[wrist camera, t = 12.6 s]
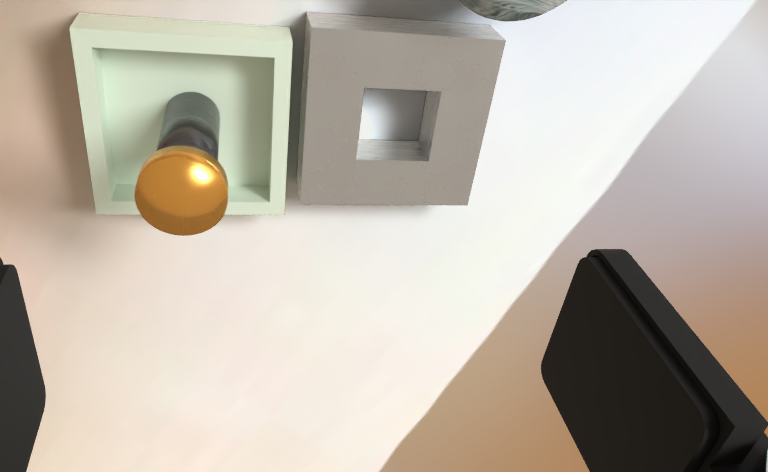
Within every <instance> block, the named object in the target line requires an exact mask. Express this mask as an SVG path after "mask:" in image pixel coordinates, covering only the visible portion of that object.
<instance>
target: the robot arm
mask: <svg viewBox="0 0 768 472" xmlns="http://www.w3.org/2000/svg"><path fill="white" fill-rule="evenodd" d="M541 373H542V377H543V380H544V382H545V384H546V386H547V388H548V390H549V392H550V394H551V396H552V398H553V400H554V402H555V404H556V406H557V408H558V410H559V412H560V414H561V416H562V418H563V420H564V422H565V424H566V426H567V428H568V430H569V432H570V433H571V435H572V437H573V439H574V441H575V443H576V445H577V447H578V449H579V451H580V453H581V455H582V457H583V459H584V461H585V463H586V464H587V467H588V469H589V471H590V472H768V437H767V436H766V434H765V433H764V431H765V429H766V427H767V426H768V422H767V421H766V420H765V418H764V417H763V416H762V415H761V414H760V412H759V411H758V410H757V409H756V408H755V406H754V405H753V404H752V403H751V401H750V400H749V399H748V398H747V397H746V395H745V394H744V393H743V392H742V390H741V389H740V388H739V387H738V385H737V384H736V383H735V382H734V381H733V379H732V378H731V377H730V376H729V375H728V373H727V372H726V371H725V370H724V368H723V367H722V366H721V365H720V364H719V362H718V361H717V360H716V359H715V358H714V356H713V355H712V354H711V353H710V351H709V350H708V349H707V348H706V347H705V345H704V344H703V343H702V342H701V340H700V339H699V338H698V337H697V336H696V334H695V333H694V332H693V331H692V329H691V328H690V327H689V326H688V325H687V323H686V322H685V321H684V320H683V318H682V317H681V316H680V315H679V314H678V312H676V310H675V309H674V307H673V306H672V305H671V304H670V303H669V301H668V300H667V299H666V298H665V296H664V295H663V294H662V293H661V292H660V290H659V289H658V288H657V287H656V286H655V284H654V283H653V282H652V281H651V279H650V278H649V277H648V276H647V275H646V273H645V272H644V271H643V270H642V268H641V267H640V266H639V265H638V264H637V262H636V261H635V260H634V259H633V258H632V256H631V255H630V254H629V253H628V252H627V251H626V250H623V249H596V250H591V251H590V252H589V253H588V255H587V257H585V258H582V259H581V260H580V261H579V263H578V265H577V268H576V271H575V274H574V276H573V279H572V282H571V284H570V287H569V289H568V292H567V295H566V298H565V300H564V303H563V306H562V308H561V311H560V314H559V316H558V319H557V322H556V325H555V327H554V330H553V333H552V335H551V338H550V341H549V343H548V346H547V349H546V351H545V354H544V357H543V360H542V364H541ZM45 397H46V393H45V385H44V381H43V377H42V373H41V368H40V364H39V360H38V356H37V352H36V348H35V344H34V339H33V335H32V331H31V327H30V323H29V319H28V315H27V310H26V306H25V302H24V298H23V294H22V290H21V286H20V281H19V277H18V273H17V270H16V268H15V266H14V265H3V262H2V260H1V258H0V472H26V470H27V467H28V463H29V460H30V456H31V453H32V449H33V446H34V443H35V439H36V436H37V432H38V429H39V426H40V422H41V419H42V415H43V412H44V407H45Z"/></svg>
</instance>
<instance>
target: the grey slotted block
mask: <svg viewBox="0 0 768 472" xmlns="http://www.w3.org/2000/svg"><path fill="white" fill-rule="evenodd" d="M505 41H506V40H505V39H504V38H503V37H502V36H501V35H500V34H499V33H498V32H497V31H496V30H495V29H493V28H492V27H491V26H490V25H480V24H466V23H453V22H439V21H426V20H412V19H398V18H385V17H371V16H358V15H344V14H331V13H317V12H306V27H305V44H304V61H303V78H302V96H301V113H300V130H299V147H298V164H297V181H296V182H297V188H298V194H299V201H300V204H339V205H468V200H469V196H470V192H471V187H472V183H473V179H474V175H475V170H476V166H477V162H478V157H479V153H480V149H481V144H482V140H483V136H484V132H485V127H486V123H487V119H488V114H489V110H490V106H491V101H492V97H493V93H494V89H495V84H496V80H497V76H498V71H499V67H500V63H501V58H502V54H503V50H504V46H505ZM364 88H381V89H402V90H423V91H427V94H426V100H425V106H424V112H423V118H422V123H421V129H420V135H419V141H398V140H364V139H359V130H360V122H361V113H362V104H363V95H364Z"/></svg>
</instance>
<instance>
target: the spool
mask: <svg viewBox="0 0 768 472" xmlns="http://www.w3.org/2000/svg"><path fill="white" fill-rule="evenodd" d="M460 1H461V2H462V3H463V4H464V5H465V6H466V7H468V8H469V9H471V10H472V11H474V12H475V13H477V14H478V15H481V16H483V17H486V18H490V19H494V20H499V21H518V20H525V19H529V18H533V17H536V16H539V15H542V14H544V13H546V12H548V11H550V10H552V9H553V8H555V7H557V6H559V5H561V4H562V3H564V2H565V1H566V0H460Z"/></svg>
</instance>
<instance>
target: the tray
mask: <svg viewBox="0 0 768 472" xmlns="http://www.w3.org/2000/svg"><path fill="white" fill-rule="evenodd" d="M69 30H70V37H71V44H72V51H73V58H74V65H75V71H76V78H77V85H78V92H79V99H80V106H81V113H82V120H83V127H84V134H85V141H86V148H87V154H88V161H89V168H90V175H91V182H92V189H93V196H94V203H95V210H96V215H141V214H140V212H139V210H138V209H137V206H136V203H135V187H136V183H137V179H138V175H139V172H140V169H141V167H142V165H143V163H144V162H145V160H146V159H147V158H148V157H149V156H150V155H152V154H153V153H155V152H156V150H157V146H158V141H159V136H160V132H161V127H162V123H163V118H164V113H165V109H166V106H167V104H168V102H169V101H170V100H171V99H172V98H173V97H174V96H176V95H178V94H180V93H183V92H197V93H201V94H203V95H205V96H207V97H209V98H210V99H211V100H212V101H213V102H214V103H215V104H216V106H217V108H218V110H219V113H220V131H219V150H218V162H219V163H220V164H221V166H222V167H223V169H224V170H225V173H226V175H227V179H228V203H227V208H226V211H225V214H224V215H284V213H285V192H286V171H287V150H288V130H289V109H290V88H291V67H292V46H293V41H292V37H291V33H290V28H289V27H282V26H268V25H253V24H238V23H223V22H209V21H194V20H179V19H164V18H150V17H135V16H120V15H105V14H91V13H78V15H77V16H76V18H75V20H74V21H73V23H72V24H71V26H70V28H69Z"/></svg>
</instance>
